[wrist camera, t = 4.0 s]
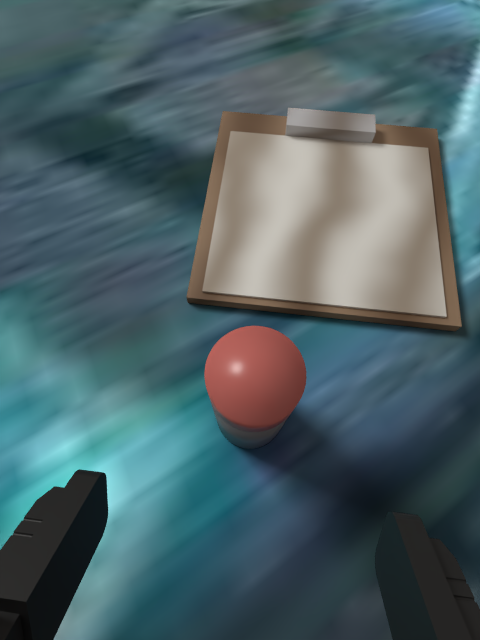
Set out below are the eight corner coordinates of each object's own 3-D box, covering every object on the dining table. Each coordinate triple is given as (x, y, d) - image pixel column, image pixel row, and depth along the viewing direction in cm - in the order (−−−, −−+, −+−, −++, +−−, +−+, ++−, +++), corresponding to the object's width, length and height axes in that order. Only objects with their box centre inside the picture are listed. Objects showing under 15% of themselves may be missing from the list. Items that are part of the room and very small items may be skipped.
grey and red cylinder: (212, 444, 23) (197, 417, 14) (221, 378, 24) (212, 320, 16) (280, 452, 23) (303, 430, 14) (284, 385, 24) (308, 331, 16)
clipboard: (187, 302, 26) (184, 288, 25) (223, 119, 34) (222, 98, 32) (455, 331, 26) (472, 318, 24) (432, 137, 33) (443, 116, 31)
